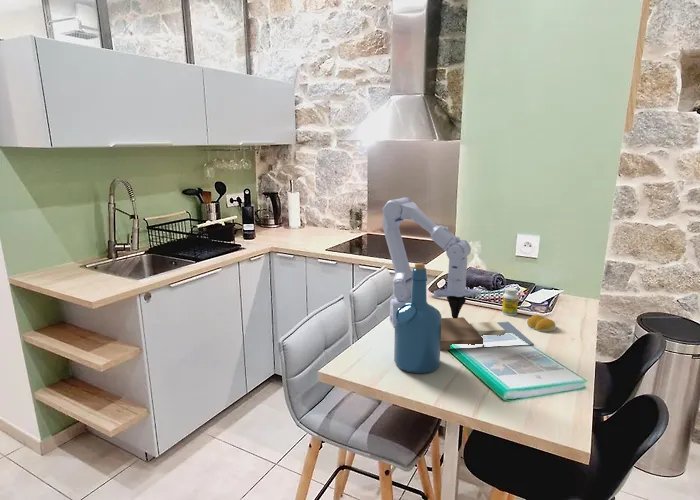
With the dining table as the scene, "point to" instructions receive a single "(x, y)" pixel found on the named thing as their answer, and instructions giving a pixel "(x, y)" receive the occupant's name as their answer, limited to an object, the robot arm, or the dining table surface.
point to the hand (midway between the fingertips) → (454, 317)
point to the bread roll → (541, 323)
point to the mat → (514, 331)
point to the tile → (488, 328)
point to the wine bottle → (418, 329)
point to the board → (458, 333)
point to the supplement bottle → (510, 302)
